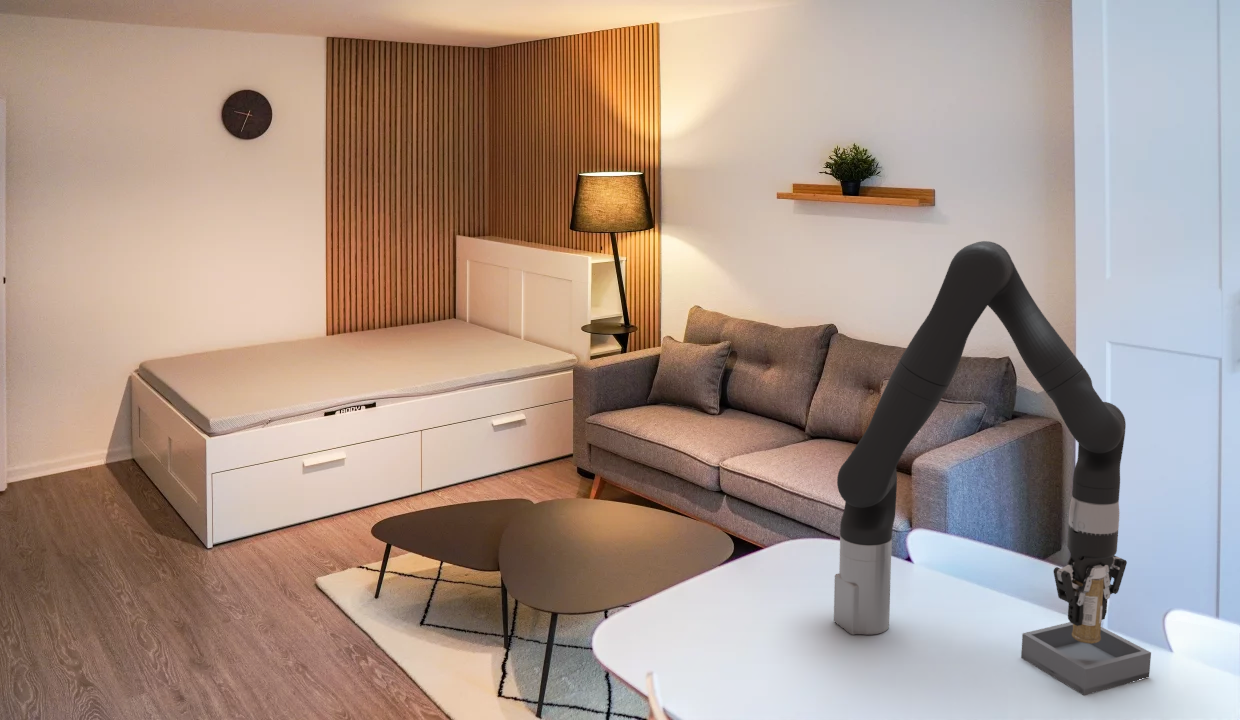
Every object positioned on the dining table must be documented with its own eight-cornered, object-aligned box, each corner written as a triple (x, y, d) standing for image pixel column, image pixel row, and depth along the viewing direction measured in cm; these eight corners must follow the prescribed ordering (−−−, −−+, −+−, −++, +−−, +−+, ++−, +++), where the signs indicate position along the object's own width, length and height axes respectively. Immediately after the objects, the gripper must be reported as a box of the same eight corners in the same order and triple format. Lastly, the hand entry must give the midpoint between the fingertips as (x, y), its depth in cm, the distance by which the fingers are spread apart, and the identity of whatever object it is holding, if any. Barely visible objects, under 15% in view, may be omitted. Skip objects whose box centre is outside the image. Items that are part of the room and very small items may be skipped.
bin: (1083, 695, 169) (1085, 669, 168) (1021, 657, 182) (1022, 633, 181) (1149, 677, 174) (1151, 652, 173) (1083, 642, 187) (1085, 618, 186)
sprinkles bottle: (1106, 639, 176) (1111, 564, 173) (1090, 647, 174) (1095, 570, 171) (1081, 629, 180) (1086, 555, 177) (1065, 636, 177) (1070, 561, 175)
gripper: (1108, 510, 179) (1101, 604, 182) (1042, 523, 174) (1036, 619, 177) (1144, 524, 172) (1137, 622, 175) (1077, 538, 167) (1070, 638, 170)
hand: (1086, 620), depth 176 cm, fingers closed on sprinkles bottle, 4 cm apart
